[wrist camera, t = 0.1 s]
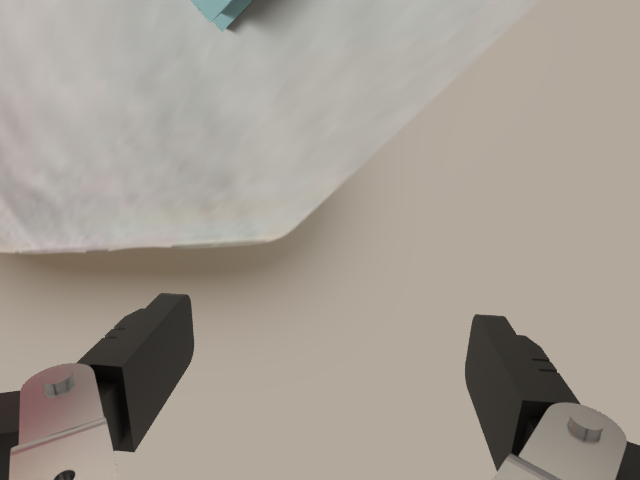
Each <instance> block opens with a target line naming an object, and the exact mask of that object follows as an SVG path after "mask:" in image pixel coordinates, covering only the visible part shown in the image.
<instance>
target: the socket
mask: <svg viewBox="0 0 640 480" xmlns="http://www.w3.org/2000/svg"><path fill="white" fill-rule="evenodd" d="M191 1H192V2H193V4H194V5H195V6H196V7H197V8H198V9H199V10H200V11H201V13H202V14H203V15H204V16H205V17H206V18H207V19H208V20H209V22H210V23H211V22H212V21H213V22H214V23H215V24H216V25H217V27H218V28H219V29H220V30H221V31H222V32H223V31H224V30H225V29H226V28H227V26H228V25H229V24H230V23H231V22H232V21H233V20H234V19H235V18H236V17H237V16H238V15H239V14H240V13H241V12H242V11H243V10H244V9H245V8H246V7H247V6H248V5H249V4H250V3H251V2H252V1H253V0H191Z"/></svg>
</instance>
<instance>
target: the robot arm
mask: <svg viewBox="0 0 640 480" xmlns="http://www.w3.org/2000/svg"><path fill="white" fill-rule="evenodd" d="M193 351H194V336H193V322H192V309H191V301H190V298H189V296H188V295H185V294H169V293H161V294H159V295H158V296H157V297H156V298H155V299H154V300H153V301H152V302H151V303H150V304H149V305H148V306H147V307H146V308H145V309H139V310H137V311H135V312H133V313H131V314H129V315H127V316H125V317H124V318H123V319H122V320H121V321H120V322H119V323H118V324H117V325H116V326H115V327H114V329H111V330H110V331H109V332H108V333H107V334H106V335H105V338H102V339H101V340H100V341H99V342H98V343H97V344H96V345H95V346H94V347H93V348H92V349H91V350H89V351H88V352H87V353H86V354H85V355H84V357H82V358H81V359H80V360H79V361H78V362H77V363H69V364H62V365H58V366H54V367H51V368H48V369H46V370H43V371H41V372H39V373H38V374H36V375H34V376H33V377H31V378H30V379H29V380H28V381H27V382H25V384H24V385H23V386H22V388H21V391H14V392H6V393H0V480H120V479H119V474H118V469H117V465H116V461H115V456H114V451H115V450H116V451H128V452H135V450H136V449H137V447H138V445H139V444H140V442H141V441H142V439H143V437H144V436H145V434H146V433H147V431H148V430H149V428H150V426H151V425H152V423H153V421H154V420H155V418H156V417H157V415H158V413H159V412H160V410H161V409H162V407H163V406H164V404H165V403H166V401H167V399H168V398H169V396H170V395H171V393H172V391H173V390H174V388H175V387H176V385H177V383H178V382H179V380H180V379H181V377H182V375H183V374H184V372H185V371H186V369H187V367H188V366H189V364H190V362H191V359H192V356H193ZM465 378H466V384H467V388H468V391H469V394H470V396H471V399H472V402H473V405H474V408H475V410H476V414H477V416H478V419H479V422H480V425H481V428H482V430H483V433H484V436H485V439H486V442H487V444H488V447H489V450H490V453H491V456H492V459H493V461H494V464H495V467H496V470H497V473H496V475H495V476H494V478H493V480H640V446H639V445H636V444H633V443H630V442H628V441H627V440H626V436H625V434H624V432H623V431H622V429H621V428H620V427H619V426H618V425H617V424H616V423H615V422H614V421H613V420H611V419H610V418H609V417H607V416H606V415H604V414H602V413H601V412H599V411H597V410H594V409H592V408H589V407H587V406H584V405H581V404H580V403H579V401H578V400H577V398H576V397H575V395H574V394H573V393H572V391H571V390H570V388H569V387H568V386H567V384H566V383H565V381H564V380H563V378H562V377H561V376H560V374H559V373H557V370H556V368H555V367H554V365H553V364H552V363H551V362H550V361H549V358H548V357H547V355H546V354H545V353H544V351H543V350H542V348H541V347H540V346H538V345H537V344H536V343H534V342H533V341H532V340H530V339H529V338H528V337H526V336H522V335H516V333H515V331H514V330H513V328H512V327H511V325H510V324H509V322H508V320H507V319H506V318H505V317H504V316H493V315H478V314H476V315H475V316H474V318H473V321H472V326H471V332H470V338H469V345H468V351H467V357H466V364H465Z"/></svg>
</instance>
